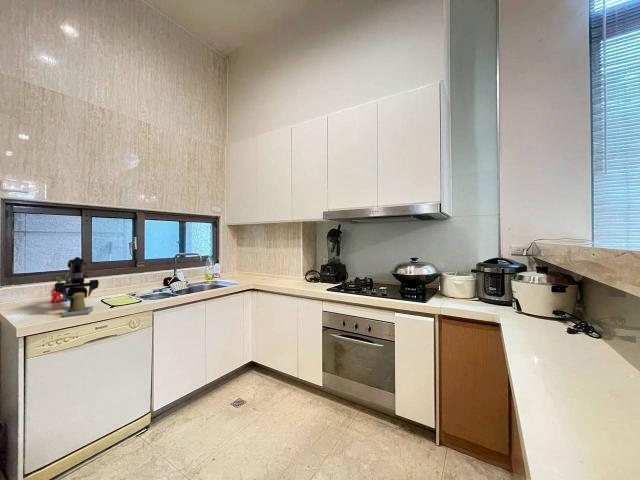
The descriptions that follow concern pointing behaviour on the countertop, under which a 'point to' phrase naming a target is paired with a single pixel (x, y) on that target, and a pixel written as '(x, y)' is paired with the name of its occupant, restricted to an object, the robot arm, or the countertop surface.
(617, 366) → the countertop surface
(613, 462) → the countertop surface
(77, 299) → the cork
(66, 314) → the grey tray
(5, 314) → the countertop surface
